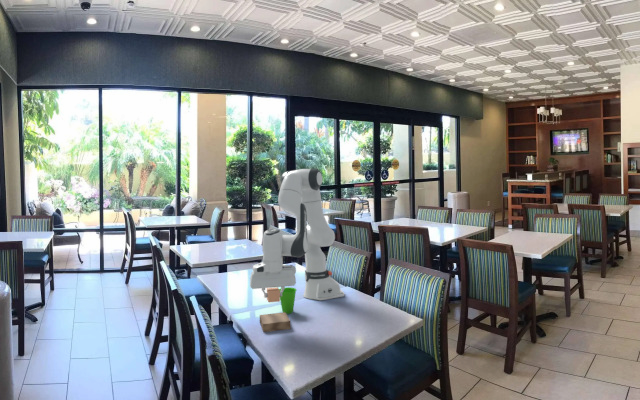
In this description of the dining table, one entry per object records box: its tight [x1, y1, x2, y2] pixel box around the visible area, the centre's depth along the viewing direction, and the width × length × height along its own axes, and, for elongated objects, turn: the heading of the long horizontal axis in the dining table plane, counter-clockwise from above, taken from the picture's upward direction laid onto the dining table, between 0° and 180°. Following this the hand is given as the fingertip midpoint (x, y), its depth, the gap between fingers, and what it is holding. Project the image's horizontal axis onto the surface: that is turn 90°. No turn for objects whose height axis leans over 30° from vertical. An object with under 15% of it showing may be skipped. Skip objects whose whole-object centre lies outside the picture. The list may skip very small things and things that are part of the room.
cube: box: [266, 287, 281, 303], centre depth 190 cm, size 5×5×5 cm
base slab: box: [259, 311, 292, 333], centre depth 192 cm, size 12×12×4 cm
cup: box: [279, 286, 297, 315], centre depth 209 cm, size 9×9×11 cm
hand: (273, 296), depth 190 cm, fingers closed on cube, 5 cm apart
